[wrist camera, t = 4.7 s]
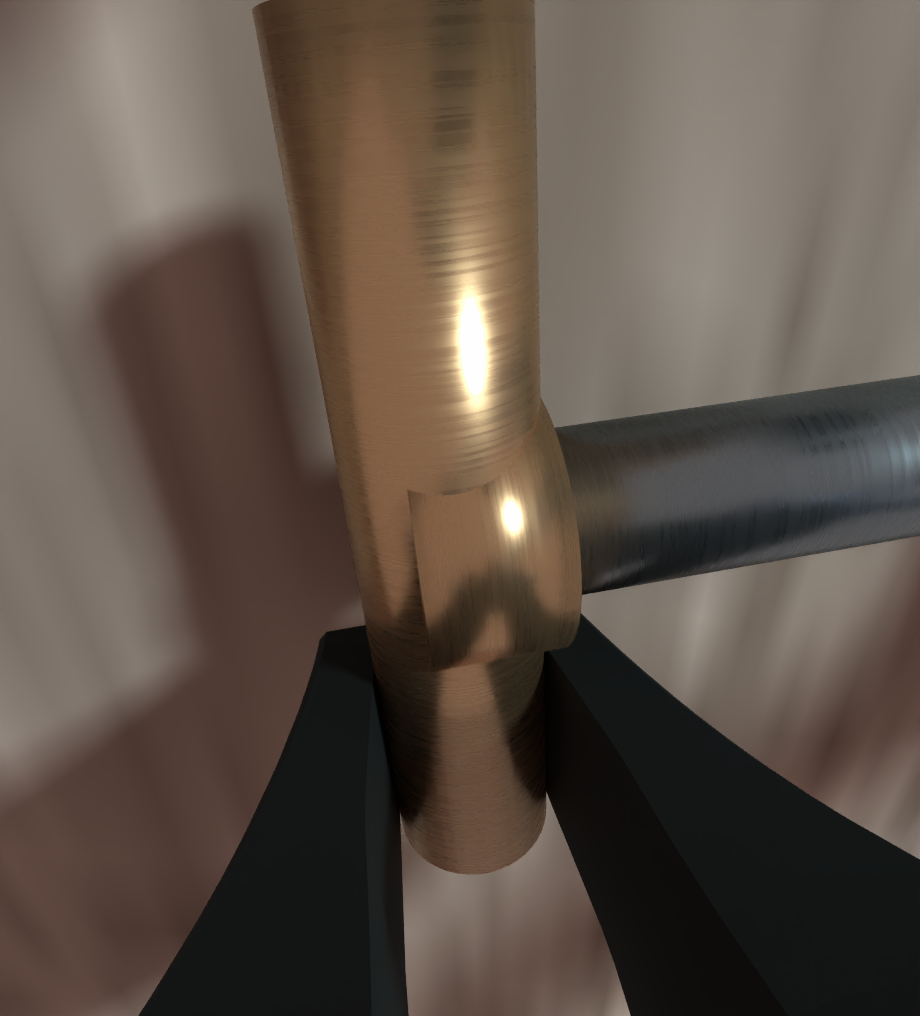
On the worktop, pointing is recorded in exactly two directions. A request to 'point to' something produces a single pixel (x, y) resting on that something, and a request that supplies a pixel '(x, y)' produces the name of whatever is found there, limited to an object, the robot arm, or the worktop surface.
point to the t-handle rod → (507, 409)
